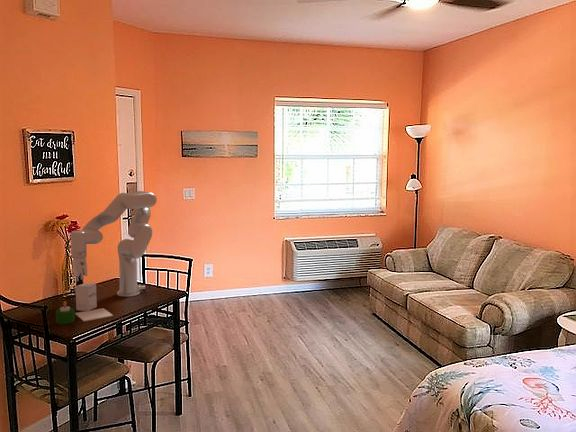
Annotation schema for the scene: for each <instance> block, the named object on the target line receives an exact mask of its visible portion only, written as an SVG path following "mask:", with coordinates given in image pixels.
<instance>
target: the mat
mask: <svg viewBox="0 0 576 432" xmlns="http://www.w3.org/2000/svg"><path fill="white" fill-rule="evenodd" d="M75 316H76V317H78V318H79V319H80V320H81V321H82V322H88V321H93V320H99V319H105V318H110V317H113V316H114V315H113V314H112V313H111V312H109V311H108V310H107V309H106V308H104V307H102V308H97V309H96V308H95V309H91V310H89V311H80V312H75Z"/></svg>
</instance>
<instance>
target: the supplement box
mask: <svg viewBox="0 0 576 432" xmlns="http://www.w3.org/2000/svg"><path fill="white" fill-rule="evenodd" d="M97 302H98V301H97V283H84V282H83V284H81V285H78V286H76V285H75V304H76V305H75V308H76V310H75V311H80V312H84V311H90V310H95V309H96V308H97V307H98V303H97Z"/></svg>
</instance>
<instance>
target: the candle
mask: <svg viewBox="0 0 576 432" xmlns="http://www.w3.org/2000/svg"><path fill="white" fill-rule="evenodd" d="M67 304H68V302H67V301H66V300H65V301H63V302H62V305H63V306H61V307H60V308H57V309H56V310H55V323H56V324H58V325H69V324H71V323H72V324H73V323H74V322H75V321H76V314H75V313H76V312H75V311H76V310H75V308H73V307H70V306H67Z"/></svg>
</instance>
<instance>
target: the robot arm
mask: <svg viewBox="0 0 576 432" xmlns="http://www.w3.org/2000/svg"><path fill="white" fill-rule="evenodd" d="M156 204H157V195H155V193H153V192H150V191H143V190H138V191H135V192H134V193H129V192H121V193H118V194H117V195H116V196H115V198H114V199H113V200H112V201H111V202H110V203H109V204H108V206H107V207H106V208H105V209H104V210H103V211H102V212H100V213H98V214H96V216H94V217H93V218H91V219H90V220H89V221H88V222H87V223H86V224H85V225H84V227H83V228H82V229H81V230H73V231H71V232H70V257H71V259H72V274H73V275H74V276H75V287H76V286H78V285H81V284H84V279H85V277H88V267H87V266H88V264H87V256H88V255H87V245H97V244H99V243H101V242H102V240H103V239H104V235H103V233H102V232H101V231H100V229H102V228H103V227H104V226H105V227H106V226H107V225H111V224H113V223H115V222H117V221H118V219H119V218H120V217H121V216H122V215H123V214H124V213H125V211H126V210H127V209H128V210H135V213H134V216H133V217H132V220H131V222H130V224H129V227H128V229H127V234H128V235H127V236H129V237H130V238H132V239H130V238H125V239H122V240H121V241H119V242H118V245H117V254H118V263H119V290H118V291H117V292H116V295H117V296H118V297H124V298H126V297H136V296H138V295H140V293H141V290H145V289H146V285H145V284H143V285H138V262H137V259H140V258H141V257H142V256H144V255H145V253H146V250H147V248H148V246H149V244H150V242H151V240H152V237H153V228H152V227H151V225H149V224H148V223H149V221H150V218H151V215H152V214H151V208H153V207H154V206H155V205H156Z"/></svg>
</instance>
